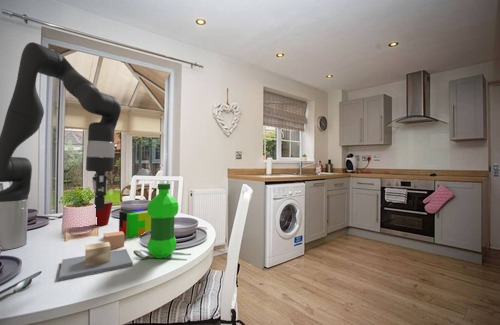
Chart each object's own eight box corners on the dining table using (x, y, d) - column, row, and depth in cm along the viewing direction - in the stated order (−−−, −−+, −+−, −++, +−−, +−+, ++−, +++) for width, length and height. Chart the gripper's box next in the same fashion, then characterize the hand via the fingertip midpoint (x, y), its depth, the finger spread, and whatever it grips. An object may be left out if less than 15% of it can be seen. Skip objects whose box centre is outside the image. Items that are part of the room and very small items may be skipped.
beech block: (85, 266, 71) (85, 249, 71) (85, 260, 75) (85, 245, 75) (110, 261, 75) (110, 246, 75) (108, 256, 79) (109, 241, 79)
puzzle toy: (140, 229, 115) (140, 208, 116) (151, 233, 110) (152, 211, 110) (118, 233, 107) (119, 211, 107) (130, 238, 101) (130, 214, 102)
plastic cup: (97, 221, 128) (98, 199, 128) (117, 222, 127) (118, 200, 127) (82, 227, 117) (83, 202, 117) (104, 227, 116) (105, 203, 117)
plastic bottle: (183, 252, 87) (184, 183, 87) (164, 263, 77) (166, 185, 77) (160, 248, 90) (161, 182, 90) (139, 258, 80) (141, 184, 80)
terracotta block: (104, 250, 87) (105, 236, 87) (103, 246, 91) (103, 233, 91) (124, 246, 91) (124, 234, 91) (121, 243, 95) (122, 231, 95)
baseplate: (58, 280, 64) (59, 276, 64) (62, 262, 75) (62, 259, 75) (132, 265, 74) (132, 262, 74) (125, 251, 86) (125, 249, 86)
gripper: (86, 156, 79) (84, 204, 79) (86, 155, 67) (84, 212, 67) (112, 156, 83) (110, 203, 83) (116, 156, 72) (115, 210, 71)
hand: (99, 207), depth 75 cm, fingers open, 8 cm apart
